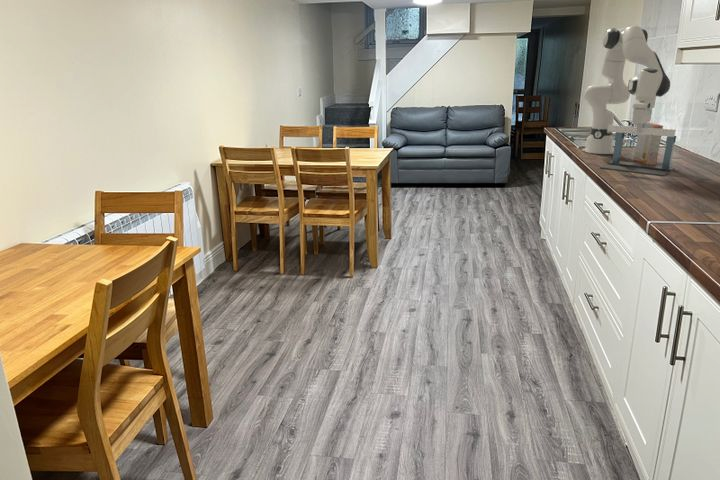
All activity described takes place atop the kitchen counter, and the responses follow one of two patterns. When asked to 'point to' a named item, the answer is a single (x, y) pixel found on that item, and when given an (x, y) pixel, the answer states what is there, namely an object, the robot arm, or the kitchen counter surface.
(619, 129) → the rail
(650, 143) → the cracker box
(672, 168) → the rack
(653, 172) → the mat
